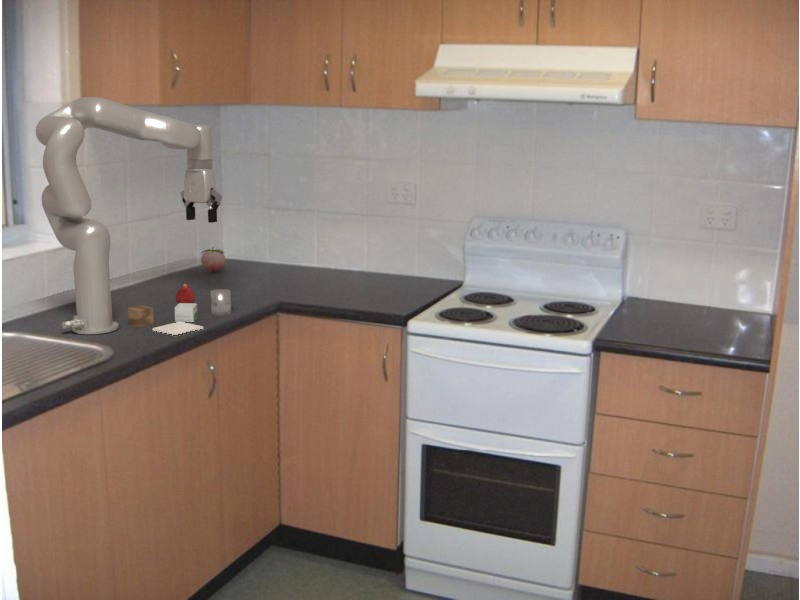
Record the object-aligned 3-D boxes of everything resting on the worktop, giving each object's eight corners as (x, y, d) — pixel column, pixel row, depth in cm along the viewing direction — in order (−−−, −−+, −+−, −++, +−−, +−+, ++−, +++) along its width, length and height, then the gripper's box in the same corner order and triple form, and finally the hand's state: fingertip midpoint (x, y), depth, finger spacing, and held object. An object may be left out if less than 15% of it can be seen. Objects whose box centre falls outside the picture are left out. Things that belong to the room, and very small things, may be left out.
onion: (190, 311, 274) (189, 286, 272) (173, 310, 275) (172, 285, 273) (198, 307, 279) (197, 282, 277) (181, 306, 280) (180, 282, 278)
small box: (194, 323, 259) (193, 307, 258) (174, 323, 259) (173, 307, 258) (198, 318, 265) (197, 302, 264) (179, 318, 265) (178, 302, 264)
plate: (175, 336, 244) (175, 333, 244) (152, 330, 250) (152, 328, 250) (203, 329, 252) (203, 326, 252) (180, 324, 258) (180, 321, 258)
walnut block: (139, 327, 254) (138, 310, 253) (128, 324, 257) (127, 308, 256) (153, 324, 258) (152, 307, 257) (142, 321, 261) (141, 305, 260)
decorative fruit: (228, 270, 342) (227, 245, 340) (224, 274, 334) (223, 248, 332) (203, 270, 342) (202, 245, 339) (199, 274, 334) (198, 248, 331)
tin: (220, 316, 268) (219, 294, 266) (207, 313, 271) (206, 291, 270) (235, 312, 272) (234, 290, 271) (221, 310, 276) (221, 288, 274)
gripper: (171, 164, 270) (173, 219, 274) (210, 167, 261) (212, 224, 264) (189, 163, 276) (191, 217, 280) (228, 166, 267) (230, 222, 270)
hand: (201, 221), depth 272 cm, fingers open, 9 cm apart
